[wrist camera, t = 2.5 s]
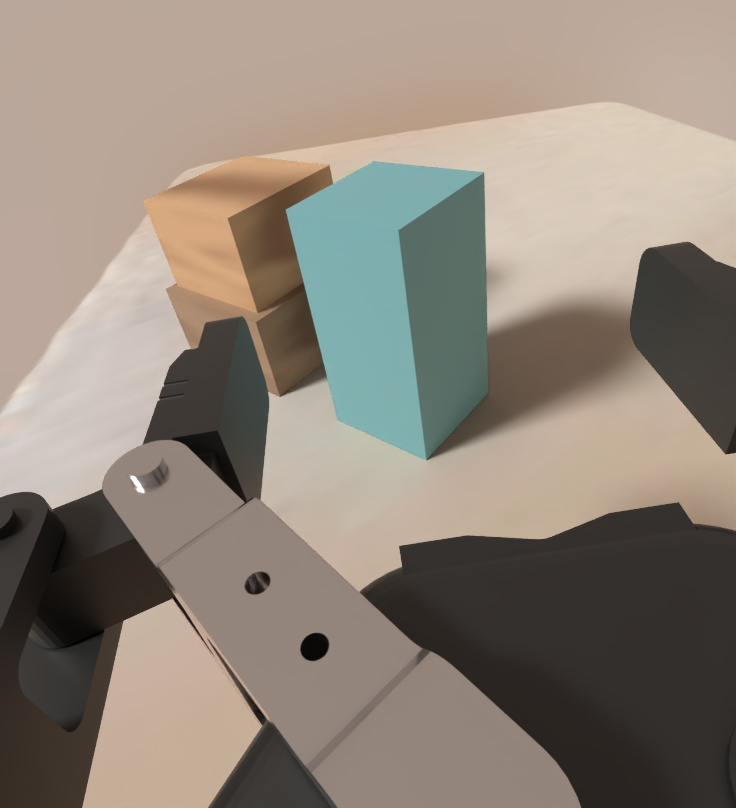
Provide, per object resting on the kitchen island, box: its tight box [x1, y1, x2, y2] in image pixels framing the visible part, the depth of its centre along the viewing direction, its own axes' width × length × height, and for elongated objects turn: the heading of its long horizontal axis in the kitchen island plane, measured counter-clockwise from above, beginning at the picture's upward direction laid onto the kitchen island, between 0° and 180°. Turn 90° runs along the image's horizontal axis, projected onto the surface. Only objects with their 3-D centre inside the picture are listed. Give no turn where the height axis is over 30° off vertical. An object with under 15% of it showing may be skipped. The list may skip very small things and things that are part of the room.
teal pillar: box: [286, 161, 488, 460], centre depth 25 cm, size 6×6×11 cm
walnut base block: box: [166, 283, 324, 397], centre depth 34 cm, size 8×8×5 cm
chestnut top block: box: [143, 156, 333, 313], centre depth 31 cm, size 7×7×5 cm
